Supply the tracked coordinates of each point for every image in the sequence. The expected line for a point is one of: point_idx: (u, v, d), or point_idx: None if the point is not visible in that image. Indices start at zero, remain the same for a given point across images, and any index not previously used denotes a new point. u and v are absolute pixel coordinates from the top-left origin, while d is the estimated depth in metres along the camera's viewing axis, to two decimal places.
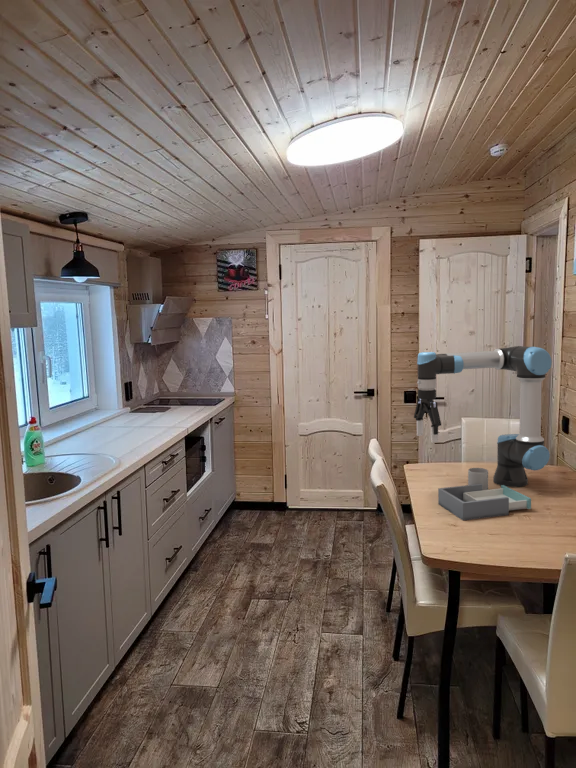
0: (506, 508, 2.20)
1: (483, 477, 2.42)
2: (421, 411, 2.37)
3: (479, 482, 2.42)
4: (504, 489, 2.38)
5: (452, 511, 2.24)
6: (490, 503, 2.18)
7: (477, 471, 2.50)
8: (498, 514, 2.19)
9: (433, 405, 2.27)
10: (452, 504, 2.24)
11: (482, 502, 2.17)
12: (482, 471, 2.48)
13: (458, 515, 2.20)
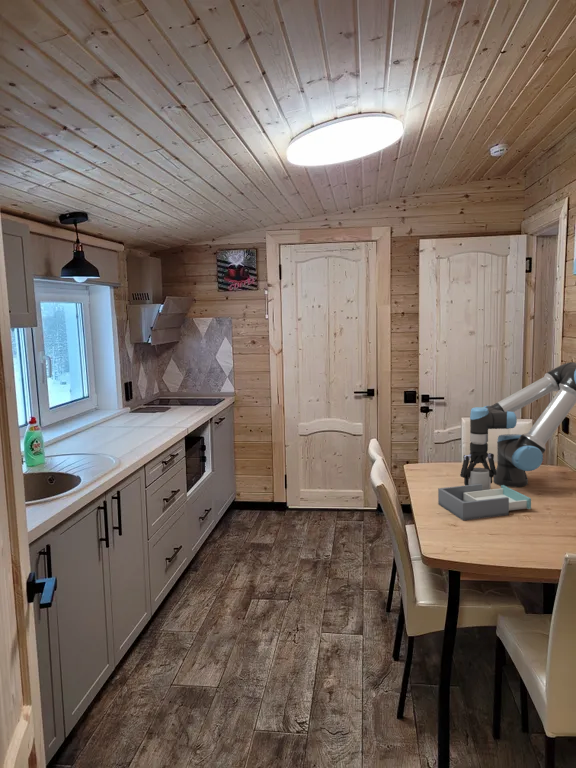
0: (506, 508, 2.20)
1: (484, 476, 2.42)
2: (483, 464, 2.48)
3: (480, 482, 2.42)
4: (504, 489, 2.38)
5: (452, 511, 2.24)
6: (490, 503, 2.18)
7: (478, 471, 2.50)
8: (498, 514, 2.19)
9: (464, 458, 2.46)
10: (452, 504, 2.24)
11: (482, 502, 2.17)
12: (483, 471, 2.49)
13: (458, 515, 2.20)
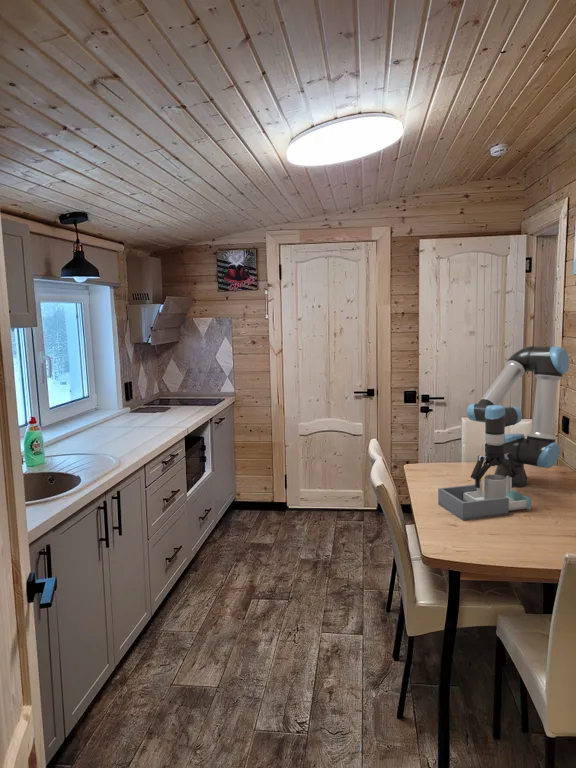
0: (506, 508, 2.20)
1: (501, 484, 2.24)
2: (501, 466, 2.30)
3: (497, 490, 2.24)
4: None
5: (452, 511, 2.24)
6: (490, 503, 2.18)
7: (494, 478, 2.31)
8: (498, 514, 2.19)
9: (478, 458, 2.27)
10: (452, 504, 2.24)
11: (482, 502, 2.17)
12: (499, 478, 2.30)
13: (458, 515, 2.20)
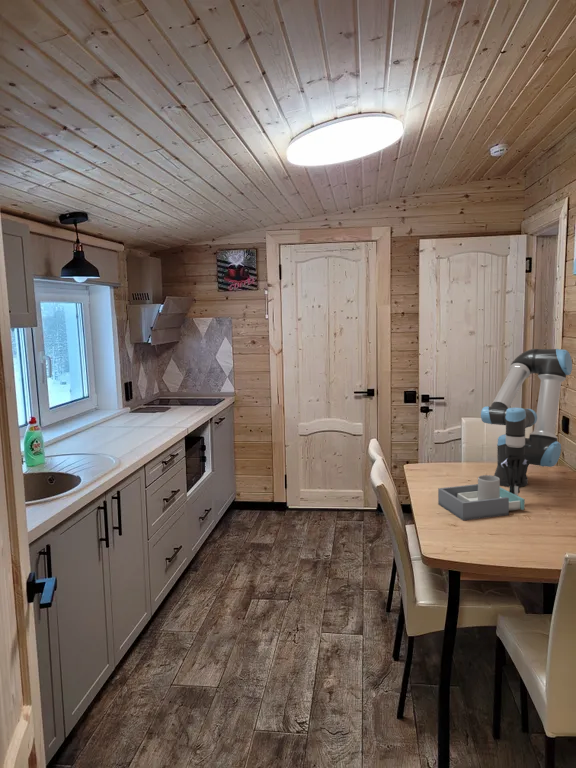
0: (506, 508, 2.20)
1: (494, 485, 2.23)
2: (515, 470, 2.31)
3: (490, 491, 2.23)
4: None
5: (452, 511, 2.24)
6: (490, 503, 2.18)
7: (487, 479, 2.31)
8: (498, 514, 2.19)
9: (501, 466, 2.29)
10: (452, 504, 2.24)
11: (482, 502, 2.17)
12: (493, 479, 2.30)
13: (458, 515, 2.20)
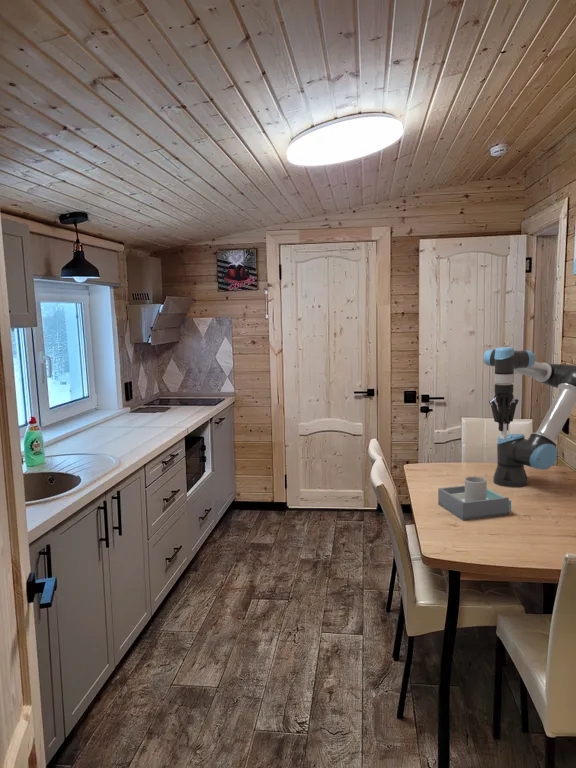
0: (506, 508, 2.20)
1: (481, 487, 2.22)
2: (504, 408, 2.37)
3: (477, 492, 2.22)
4: None
5: (452, 511, 2.24)
6: (490, 503, 2.18)
7: (474, 480, 2.29)
8: (498, 514, 2.19)
9: (490, 404, 2.35)
10: (452, 504, 2.24)
11: (482, 502, 2.17)
12: (480, 480, 2.28)
13: (458, 515, 2.20)
